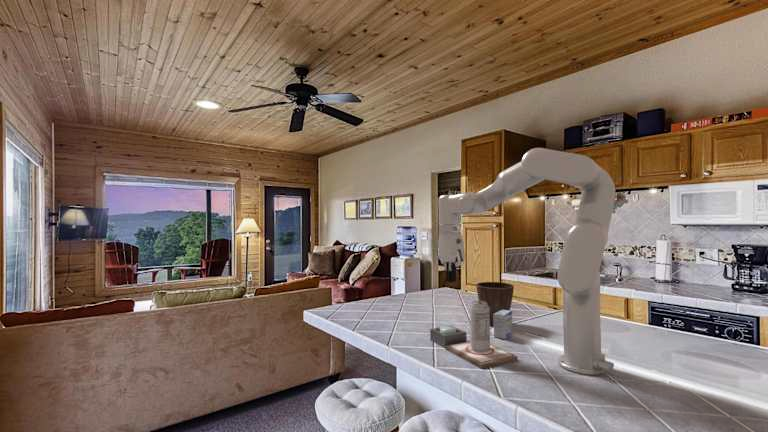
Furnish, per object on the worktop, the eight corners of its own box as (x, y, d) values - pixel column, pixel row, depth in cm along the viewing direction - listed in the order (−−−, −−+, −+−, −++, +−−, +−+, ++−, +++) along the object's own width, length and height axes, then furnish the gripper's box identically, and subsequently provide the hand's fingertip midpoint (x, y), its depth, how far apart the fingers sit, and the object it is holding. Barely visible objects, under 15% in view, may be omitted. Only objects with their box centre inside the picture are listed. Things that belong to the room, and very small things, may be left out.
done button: (459, 338, 128) (459, 329, 128) (446, 340, 125) (445, 332, 125) (450, 333, 133) (450, 325, 133) (436, 336, 130) (436, 327, 130)
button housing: (466, 343, 127) (466, 332, 127) (444, 347, 123) (444, 336, 123) (451, 336, 135) (451, 325, 135) (430, 340, 131) (430, 328, 131)
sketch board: (517, 360, 111) (517, 355, 111) (481, 368, 106) (481, 363, 106) (478, 342, 128) (478, 338, 128) (445, 349, 122) (445, 344, 122)
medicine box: (505, 339, 131) (505, 315, 131) (493, 337, 133) (493, 313, 133) (512, 333, 137) (512, 310, 137) (501, 331, 140) (500, 309, 140)
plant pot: (486, 317, 161) (485, 280, 161) (520, 322, 151) (519, 283, 151) (470, 324, 149) (469, 285, 149) (506, 331, 140) (505, 289, 140)
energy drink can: (486, 346, 120) (485, 300, 120) (492, 352, 114) (491, 304, 114) (468, 346, 119) (467, 300, 120) (473, 353, 113) (472, 304, 114)
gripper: (471, 229, 124) (473, 283, 124) (446, 229, 138) (447, 278, 138) (453, 230, 121) (455, 285, 121) (429, 229, 135) (430, 279, 134)
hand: (451, 281), depth 129 cm, fingers closed
